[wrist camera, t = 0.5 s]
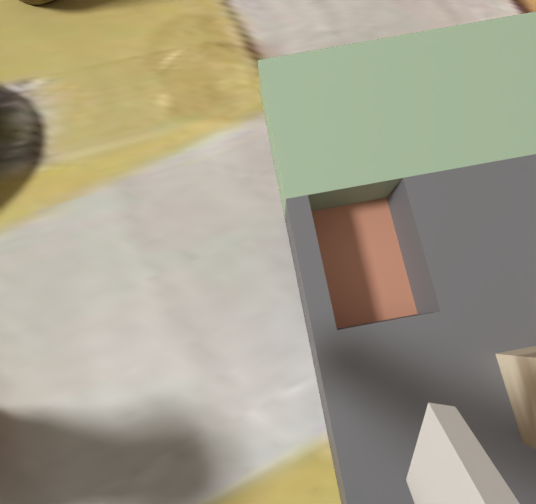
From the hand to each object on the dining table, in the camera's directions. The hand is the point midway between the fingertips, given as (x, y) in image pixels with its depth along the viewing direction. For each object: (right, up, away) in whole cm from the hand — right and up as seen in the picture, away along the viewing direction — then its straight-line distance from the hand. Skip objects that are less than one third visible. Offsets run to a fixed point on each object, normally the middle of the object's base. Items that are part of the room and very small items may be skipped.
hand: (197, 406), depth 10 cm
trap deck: (+17, +4, +16) cm, 24 cm away
